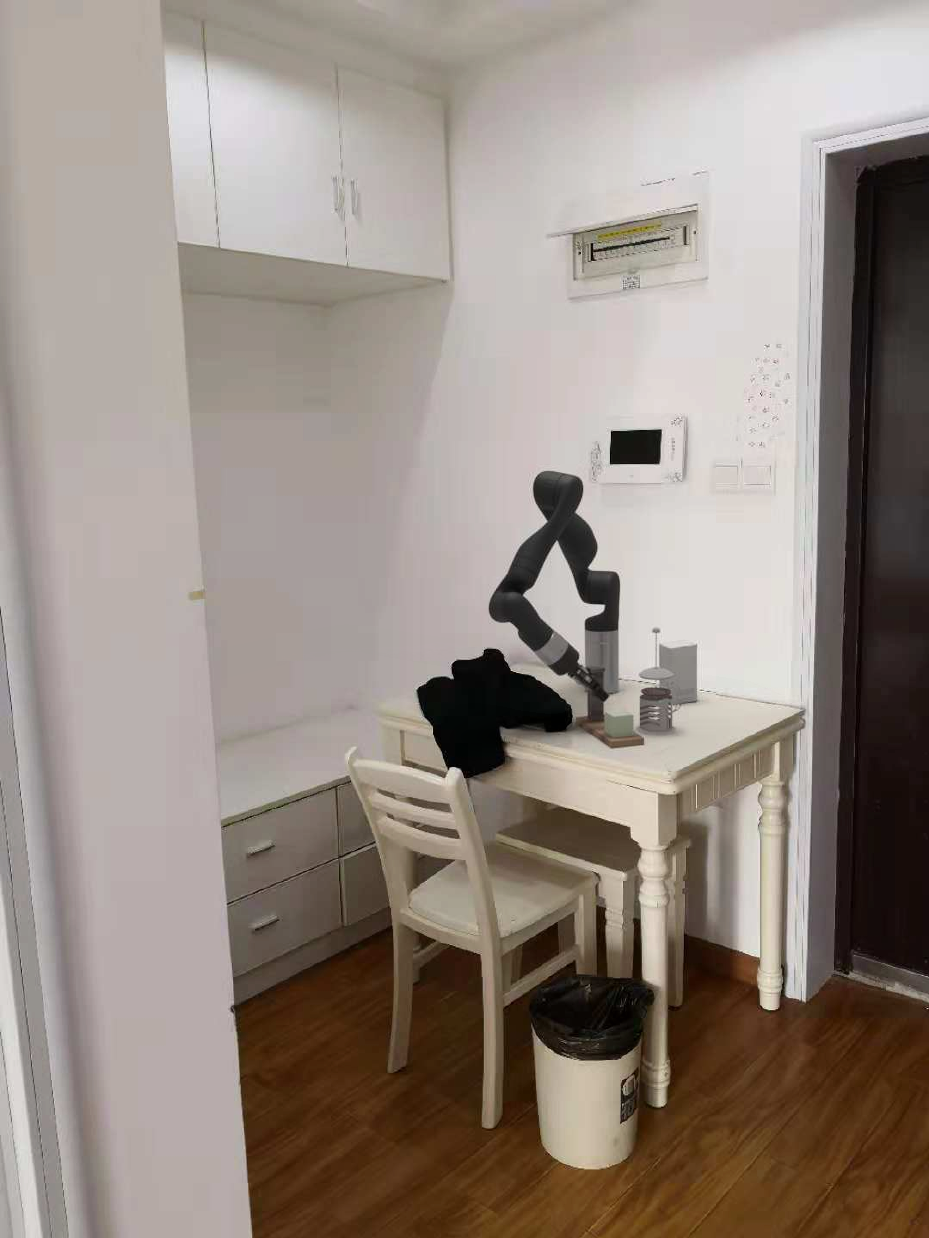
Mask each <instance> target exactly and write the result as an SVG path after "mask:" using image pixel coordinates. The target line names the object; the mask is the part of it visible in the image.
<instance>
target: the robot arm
mask: <svg viewBox="0 0 929 1238" xmlns="http://www.w3.org/2000/svg"><path fill="white" fill-rule="evenodd" d="M532 495H533V500H534V502H535V504H536V506H537V507H538V509H539V510H540V512H541V514H542V515H543V516H544V518H545V520H546V522H545V524H543V525H542V526H541V527H540V528H539V529H538V530H536V532H534V533H533V534H531V535H530V536H529V537H527V539H526V540H524V542H522V543H521V545H520V546H519V548H518V550H517V551H516V552H515V555H514V557H513V559H512V561H511V563H510V566H509V568H508V571H507V573H506V575H505V576H504V577H503V578H502V579H501V581H500V583H499V584H498V586H497V587H496V589H495V590H494V591H493V594H492V595H491V597H490V599H489V603H488V614H489V616H490V618H491V619H492V620H493V621H494V622H496V623H501V624H505V623H506V624H507V623H510V624H512V626H513V627H515V628H516V629H517V636H518V638H519V639H520V640H521V642H523V644H525V645H526V646H527V647H528V648H529V649H530V650H531V651H532V652H533V653H534V654H535V655H536V657H537V658H538V659H539V660H540V661H541V662H542V663H544V664H545V665H546V666H547V667H548V668H549V669H550V670H551V671H552V672H553V673H554V674H556V675H557V676H558V677H561V676H565V675H566V676H568V677H569V678H570V679H572V680H573V681H574V682H575V683H576V684H577V685H580V686H581V687H582V688H584V691H586V692H587V688H588V689H589V690H590V691H591V692H592V693H594V694H595V695H596V696H597V697H598V698H599V699H600V700H601V701H603V702H604V703H605V702H606V701H607V700H608V699H609V697H610V694H614V693H616V692H618V691H619V689H620V688H619V687H620V682H619V681H620V665H619V664H620V656H619V655H620V653H619V646H620V643H619V642H620V639H619V632H620V631H619V628H620V627H619V623H620V601H621V600H620V599H621V579H620V575H619V573H618V572H617V571H611V570H592V569H590V568H589V567H590V565H591V564H592V563H593V561H594V560H595V558H596V556H597V553H598V550H599V548H598V547H599V545H598V541H597V539H596V537H595V534H594V532H593V529H592V528H591V526H590V524H589V523H588V522H587V521H586V520H585V519H584V518H583V517H582V516H581V515H579V514H578V513H577V510H578V508H579V507H580V504H581V502H582V499H583V495H584V483H583V481H582V479H581V477H580V476H577V475H574V474H570V473H566V472H560V471H554V470H544V471H541V472H539V473H538V474H537V475H536V477H534V480H533V484H532ZM556 543H558V545H559V548H560V550H561V552H562V555H563V556H564V559H565V561H566V562H567V565H568V568H569V570H570V571H571V574H572V577H573V580H574V584H575V587H576V590H577V593H578V596H579V599H580V600H581V602H583V603H585V604H588V605H600V606H602V605H603V606H604V607H603V611H602V612H600V613H598V614H596V615H591V616H588V617H587V618H585V620H584V665H583V664H580V663H579V659H580V652H579V651H578V650H577V649H576V648H575V647H574V646H572V645H571V644H570V643H569V642H568V641H567V640H566V639H565V638H564V637H563V636H562V635H561V634H559V632H558V631H556V630H555V629H553V628H552V627H551V625H549V624H548V623H547V622H546V621H545V620H543V619H542V618H541V616H540V614H539V612H538V611H537V610H536V609H535V607H534V606H533V604H532V603H531V602H530V601H529V600H528V598H527V597H525V596H524V594H526V592H527V591H528V590H530V589H532V588H533V587H534V586H535V584H536V582H537V580H538V578H539V576H540V573H541V572H542V571H541V570H542V569H543V567H544V564H545V562H546V560H547V558H548V556H549V554H550V553H551V551H552V549H553V548H554V545H555V544H556ZM597 665H600V666H602V667H604V668H605V672H604V690H603V689H602V688H601V685H600V683H598V682H597V680H596V679H595V678H594V677H593V676H592V675H591V674H590V673H589V672H588V671H587V669H586V666H597Z"/></svg>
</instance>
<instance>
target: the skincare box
mask: <svg viewBox="0 0 929 1238" xmlns="http://www.w3.org/2000/svg"><path fill="white" fill-rule="evenodd" d="M658 667H659V668H663V669H667V670H669V671H670V672H672V673H673V677H672V678H670V679H665V680H658V681H659V682H658V683H659V685H658V688H659V687H660V688H667V689H669V688H668V686H667V684H668V683H670V684H671V683H672V682H675V683H676V684H677V685H678V686H679V687H680V690H681V692H682V704H687V703H693V702H697V701H698V644H697V643H695V642H692V641H688V640H685V639H683V640H676V641H669V642H661V643H658ZM670 684H669V687H671V685H670ZM672 685H673V686H674V688H675V689H676V691H677V693H678V705H680V704H681V693H680V690H679V688H678V687H677V685H675V684H674V683H673V684H672ZM674 688H673V687H671V688H670V690H671V693H670V694H669V695H671V696H672V697H673V701H672V706H673V705H677V693H676V691H675V689H674ZM666 700H669V699H663V700H660V701H666ZM669 702H670V703H671V700H669ZM682 704H681V705H682Z"/></svg>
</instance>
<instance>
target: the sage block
mask: <svg viewBox="0 0 929 1238" xmlns="http://www.w3.org/2000/svg"><path fill="white" fill-rule="evenodd" d="M604 714H605V733H607V734H608V735H610V736H611V737H613V738H617V737H626V736H633V731H634V714H633V713H631V712H630V711H628V710H626V709H624V708H623V709H615V710H614V709H613V710H605V711H604Z"/></svg>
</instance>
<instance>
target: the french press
mask: <svg viewBox="0 0 929 1238" xmlns="http://www.w3.org/2000/svg"><path fill="white" fill-rule="evenodd" d="M651 633H653V634H655V666H654V667H649V668H646V669H644V670H642V671H641V672H639V673H638V676H639V678H641V679H644V680H649V681H659V680H665V679H670V678H672V677H673V673H672V672H670V671H669V670H667V669H663V668H659V666H657V648H658V647H657V640H658V639H657V637H658V636H657V634H659V633H661V629H660V627H657V626H656V627H653V629H652V632H651ZM673 683H674V684H675V685H677V684H676V683H675V682H672V683H671V684H670V683H668V684H667V686H668V688H669V689H667V688H660V687H659V686H650V687H648V686H647V687H644V688H642V689H641V690H640V692H641V695H640V696H639V725H638V726H637V727H636V729H635V731H637V732H638V733H641V734H644V735H649V736H665V735H670V734H673V733H675V732H676V731H677V729H676V727H674V726H673V713H675V712H677V711H679V710H680V708H681V706H682V704H683V703H682V692H681V690H680V687H679V686H678V685H677V687H678V688H679V690H680V693H681V704H678V693H677V691H676V689H675V688H674V686H673V685H672V684H673ZM669 684H670V685H671V687H673V688H674V689H675V691H676V693H677V704H676V706H675V708H674V709H673V705H672V701H673V697H672V696H671V695H669V694H670V693H671V690H670V688H671V687H669ZM663 699H669V700H671V703H670V702H669V700H666V701H661V700H663ZM678 705H679V706H678ZM656 713H657V714H656ZM655 718H657V719H655Z"/></svg>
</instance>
